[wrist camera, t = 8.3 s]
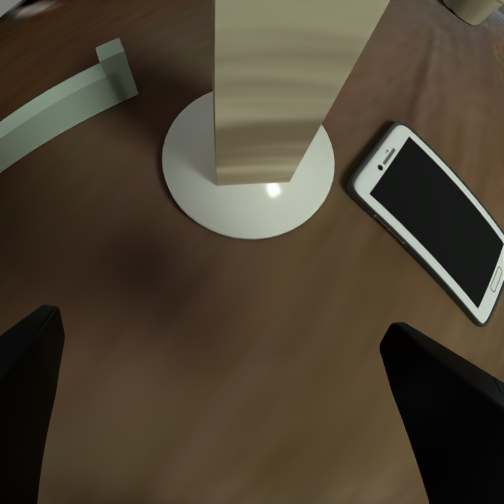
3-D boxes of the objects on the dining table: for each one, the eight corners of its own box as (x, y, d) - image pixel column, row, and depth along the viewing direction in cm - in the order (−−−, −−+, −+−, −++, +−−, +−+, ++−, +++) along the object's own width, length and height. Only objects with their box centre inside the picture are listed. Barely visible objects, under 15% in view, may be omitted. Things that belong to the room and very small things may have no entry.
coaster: (336, 110, 19) (339, 106, 18) (320, 256, 17) (324, 254, 17) (189, 81, 18) (188, 75, 18) (143, 221, 17) (141, 218, 16)
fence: (138, 94, 18) (124, 50, 14) (-18, 186, 16) (-53, 164, 12) (133, 80, 18) (119, 37, 14) (-19, 170, 16) (-52, 147, 12)
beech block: (289, 182, 17) (397, -14, 4) (216, 186, 17) (217, -39, 4) (280, 122, 18) (346, -71, 5) (213, 124, 17) (215, -85, 5)
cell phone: (477, 331, 18) (485, 332, 17) (338, 190, 18) (344, 185, 18) (509, 252, 19) (517, 250, 19) (392, 122, 20) (397, 115, 19)
